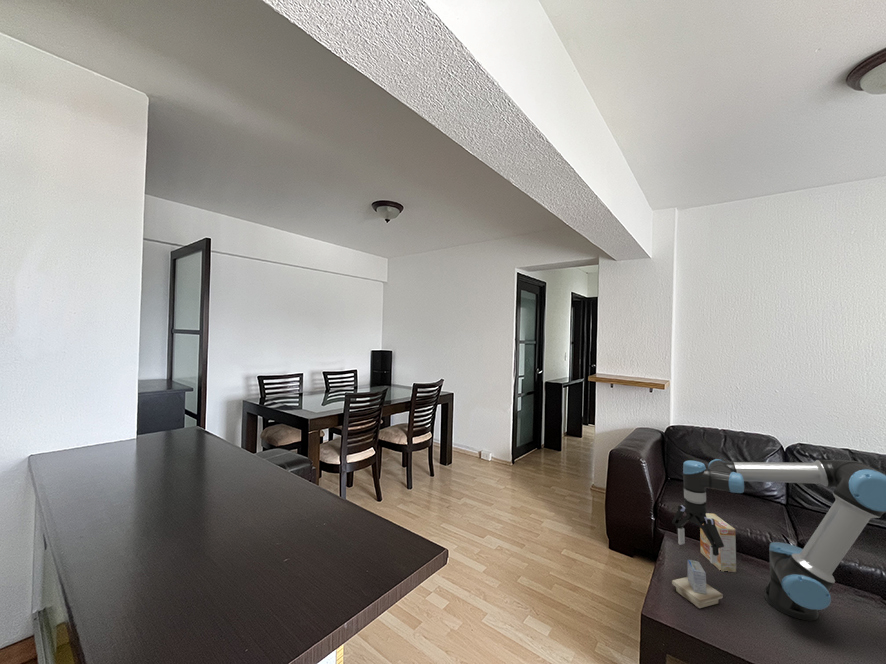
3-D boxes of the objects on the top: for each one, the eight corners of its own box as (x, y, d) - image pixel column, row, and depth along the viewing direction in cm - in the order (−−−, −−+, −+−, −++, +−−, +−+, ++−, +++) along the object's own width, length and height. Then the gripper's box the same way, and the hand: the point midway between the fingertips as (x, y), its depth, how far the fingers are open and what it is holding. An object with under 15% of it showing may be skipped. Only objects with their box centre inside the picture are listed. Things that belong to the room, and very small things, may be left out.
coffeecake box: (699, 552, 176) (699, 512, 176) (715, 553, 175) (714, 513, 176) (720, 571, 161) (719, 528, 162) (737, 572, 160) (736, 528, 161)
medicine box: (706, 595, 140) (706, 572, 141) (693, 592, 142) (693, 570, 142) (699, 582, 148) (699, 561, 148) (687, 579, 149) (686, 559, 150)
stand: (722, 604, 141) (722, 594, 141) (699, 610, 137) (699, 600, 138) (693, 584, 152) (693, 575, 152) (672, 590, 149) (672, 580, 149)
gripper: (734, 512, 135) (736, 569, 134) (674, 487, 159) (676, 535, 158) (719, 515, 133) (721, 573, 132) (661, 489, 157) (663, 538, 156)
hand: (696, 552), depth 145 cm, fingers open, 13 cm apart
